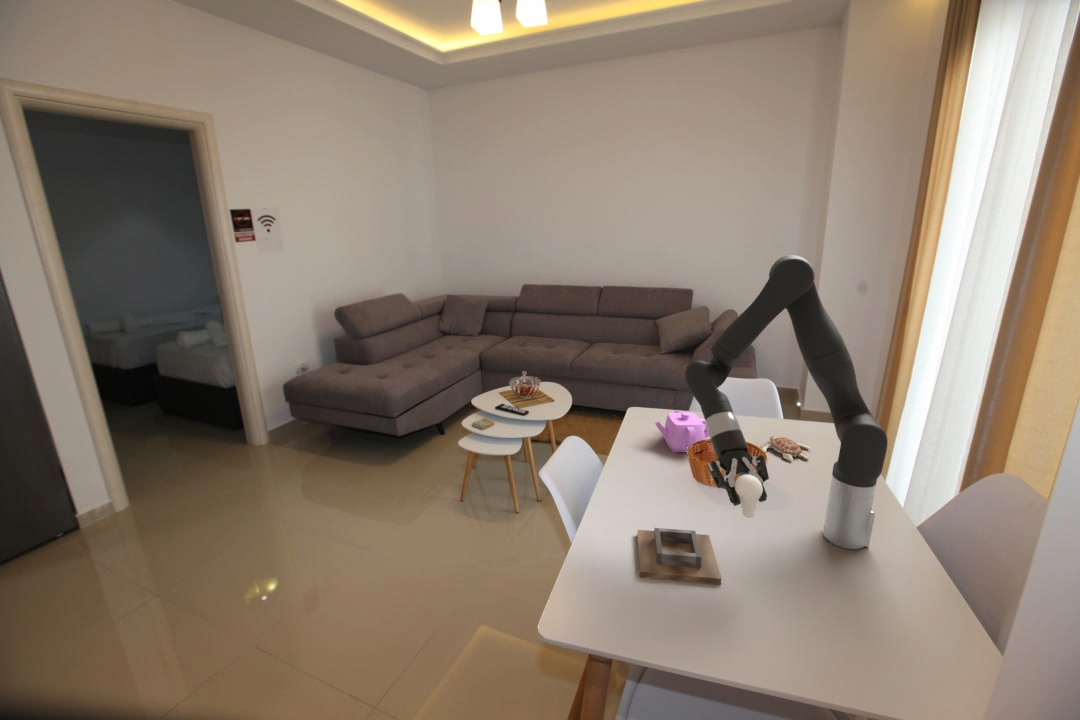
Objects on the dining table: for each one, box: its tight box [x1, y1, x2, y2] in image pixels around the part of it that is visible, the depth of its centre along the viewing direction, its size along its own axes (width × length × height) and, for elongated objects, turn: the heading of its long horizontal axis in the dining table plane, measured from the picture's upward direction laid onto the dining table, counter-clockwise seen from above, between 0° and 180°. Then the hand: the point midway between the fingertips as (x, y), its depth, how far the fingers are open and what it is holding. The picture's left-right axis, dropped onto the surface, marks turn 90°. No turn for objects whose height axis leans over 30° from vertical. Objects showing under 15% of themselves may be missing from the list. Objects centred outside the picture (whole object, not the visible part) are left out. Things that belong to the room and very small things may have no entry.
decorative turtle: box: [759, 435, 811, 461], centre depth 170 cm, size 18×17×5 cm
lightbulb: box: [734, 475, 763, 519], centre depth 111 cm, size 6×6×11 cm
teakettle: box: [654, 409, 710, 454], centre depth 176 cm, size 17×17×12 cm
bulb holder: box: [636, 527, 722, 585], centre depth 117 cm, size 18×16×4 cm
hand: (750, 502), depth 110 cm, fingers closed on lightbulb, 6 cm apart
